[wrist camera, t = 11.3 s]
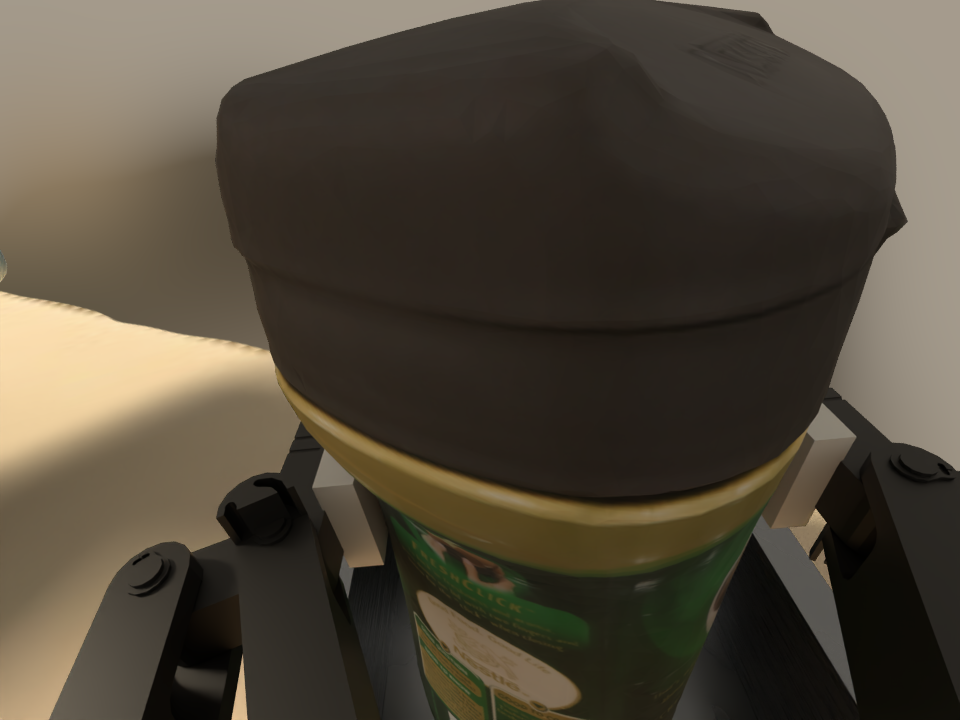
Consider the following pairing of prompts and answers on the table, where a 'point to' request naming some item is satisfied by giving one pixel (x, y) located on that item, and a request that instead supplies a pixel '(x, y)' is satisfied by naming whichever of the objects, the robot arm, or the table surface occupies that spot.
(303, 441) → the robot arm
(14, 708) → the table surface
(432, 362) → the coffee jar
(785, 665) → the cradle
